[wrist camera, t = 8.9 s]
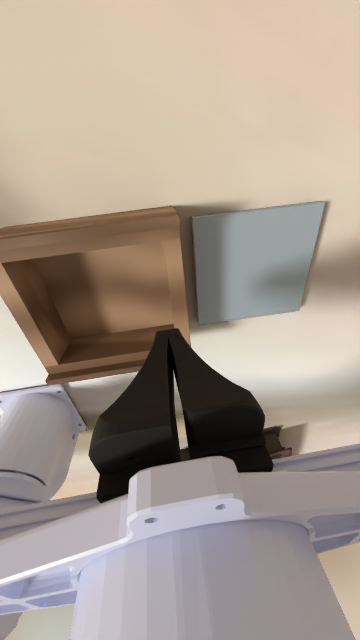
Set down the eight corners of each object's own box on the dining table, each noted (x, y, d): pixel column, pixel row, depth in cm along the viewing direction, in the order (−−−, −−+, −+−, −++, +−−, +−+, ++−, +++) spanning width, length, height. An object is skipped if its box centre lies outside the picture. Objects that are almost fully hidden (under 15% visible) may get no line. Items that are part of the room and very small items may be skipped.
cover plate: (292, 304, 25) (299, 310, 24) (196, 317, 24) (198, 325, 23) (313, 200, 19) (325, 202, 18) (190, 215, 19) (192, 218, 18)
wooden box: (185, 330, 24) (193, 363, 20) (67, 348, 24) (48, 386, 19) (171, 205, 18) (179, 214, 13) (6, 227, 17) (-44, 243, 13)
